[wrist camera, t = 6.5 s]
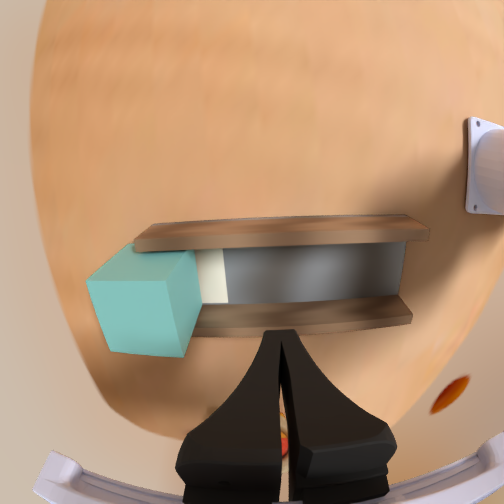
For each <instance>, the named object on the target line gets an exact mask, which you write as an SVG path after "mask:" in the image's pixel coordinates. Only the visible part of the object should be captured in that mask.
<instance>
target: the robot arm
mask: <svg viewBox="0 0 504 504" xmlns="http://www.w3.org/2000/svg"><path fill="white" fill-rule="evenodd" d="M476 122H477V124H476ZM468 141H469V157H468V182H467V196H466V206H465V208H466V211H467V212H469V213H475V214H495V215H504V127H503V126H500V125H497V124H494V123H492V122H489V121H486V120H483V119H479V118H476V117H469V118H468ZM474 205H475V208H474ZM280 385H281V388H282V395H283V401H284V408H285V414H286V421H287V432H288V470H289V502H279V495H280V486H281V475H282V442H281V426H280V408H279V398H280ZM396 449H397V444H396V441H395V438H394V435H393V433H392V432H391V430H390V428H389V426H388V424H387V423H386V422H384V421H382V420H380V419H379V418H377V417H375V416H373V415H371V414H369V413H368V412H366V411H365V410H363V409H362V408H360V407H359V406H358V405H356V404H355V403H354V402H353V401H351V400H350V399H349V398H348V397H346V396H345V395H344V394H343V393H342V392H341V391H339V390H338V389H337V388H336V387H335V386H334V385H333V384H332V383H331V382H330V381H329V380H328V378H327V377H326V376H325V375H324V374H323V373H322V371H321V370H320V369H319V368H318V366H317V365H316V364H315V362H314V361H313V359H312V358H311V357H310V355H309V354H308V352H307V351H306V349H305V347H304V346H303V344H302V342H301V340H300V338H299V336H298V334H297V331H296V330H295V329H284V330H266V331H265V332H264V333H263V338H262V341H261V344H260V347H259V350H258V352H257V354H256V356H255V358H254V360H253V362H252V364H251V366H250V368H249V369H248V371H247V373H246V375H245V376H244V378H243V379H242V381H241V382H240V384H239V385H238V386H237V388H236V389H235V390H234V392H233V393H232V394H231V395H230V396H229V397H228V399H227V400H226V401H225V402H224V403H223V404H222V405H221V406H220V407H219V408H218V409H217V410H216V411H215V412H214V413H213V414H212V415H211V416H210V417H209V418H207V419H206V420H205V421H204V422H202V423H201V424H200V425H198V426H197V427H196V428H194V429H193V430H192V431H190V432H189V433H188V434H187V436H186V438H185V439H184V441H183V443H182V446H181V448H180V451H179V454H178V458H177V461H176V466H175V469H176V472H177V473H178V475H179V476H180V477H181V479H182V480H183V481H184V483H185V484H186V485H185V491H184V495H183V496H179V495H173V494H168V493H163V492H158V491H153V490H150V489H145V488H141V487H137V486H134V485H130V484H126V483H123V482H120V481H117V480H113V479H110V478H107V477H104V476H101V475H99V474H96V473H93V472H90V471H88V470H85V469H83V468H82V466H81V465H80V464H79V463H77V462H76V461H75V460H73V459H71V458H69V457H67V456H65V455H62V454H60V453H58V452H56V451H54V450H51V452H50V454H49V456H48V458H47V460H46V462H45V464H44V466H43V468H42V470H41V472H40V474H39V476H38V478H37V480H36V482H35V485H34V487H33V489H32V490H33V492H35V493H36V494H38V495H39V496H41V497H42V498H43V499H45V500H46V501H48V502H49V503H51V504H476V503H478V502H480V501H481V500H483V499H485V498H486V497H488V496H490V495H491V494H493V493H494V492H495V491H497V490H498V489H499V488H501V487H502V486H503V485H504V431H502V432H501V433H499V434H497V435H495V436H494V437H492V438H490V439H488V440H487V441H486V442H484V443H483V444H482V445H481V446H480V447H479V448H478V450H477V451H476V452H474V453H472V454H470V455H468V456H466V457H464V458H462V459H460V460H458V461H455V462H453V463H451V464H448V465H446V466H444V467H441V468H439V469H436V470H434V471H431V472H429V473H426V474H423V475H420V476H417V477H414V478H411V479H408V480H405V481H403V482H399V483H395V484H392V485H388V480H387V476H386V475H387V474H388V468H387V463H388V461H389V460H390V459H391V457H392V456H393V455H394V453H395V451H396Z"/></svg>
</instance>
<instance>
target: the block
mask: <svg viewBox="0 0 504 504" xmlns="http://www.w3.org/2000/svg"><path fill="white" fill-rule="evenodd" d="M86 284H87V287H88V291H89V294H90V297H91V300H92V303H93V306H94V309H95V312H96V315H97V317H98V320H99V323H100V326H101V328H102V331H103V333H104V336H105V339H106V341H107V344H108V346H109V348H110V351H113V352H121V353H130V354H140V355H151V356H163V357H179V358H184V356H185V353H186V350H187V347H188V344H189V341H190V338H191V335H192V332H193V329H194V326H195V324H196V321H197V318H198V315H199V312H200V309H201V307H202V298H201V292H200V286H199V279H198V272H197V265H196V258H195V251H194V249H193V250H169V251H147V252H136V249H135V244H128V245H126V246H125V247H124V248H123V249H122V250H120V251H119V252H118V253H117V254H116V255H114V256H113V257H112V258H111V259H110V260H109V261H107V262H106V263H105V264H104V265H103V266H102V267H100V268H99V269H98V270H97V271H96V272H95V273H94V274H92V275H91V276H90V277H89V278H88V279H87V280H86Z"/></svg>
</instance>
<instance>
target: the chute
mask: <svg viewBox="0 0 504 504" xmlns="http://www.w3.org/2000/svg"><path fill="white" fill-rule="evenodd" d="M429 231H430V229H429V228H427V227H426V226H424V225H422V224H421V223H419V222H417V221H415V220H414V219H412V218H410V217H409V216H407V215H332V216H292V217H264V218H242V219H222V220H204V221H188V222H174V223H160V224H153V225H151V226H150V227H149V228H148V229H146V230H145V231H144V232H143V233H141V234H140V235H139V236H138V237H136V238H135V239H134V244H135V249H136V252H147V251H169V250H193V249H194V251H195V258H196V265H197V272H198V279H199V286H200V292H201V298H202V307H201V309H200V312H199V315H198V318H197V321H196V324H195V326H194V329H193V332H192V335H191V337H263V333H264V332H265V331H266V330H284V329H295V330H296V331H297V334H298V335H310V334H324V333H336V332H347V331H357V330H366V329H374V328H382V327H390V326H397V325H404V324H411V321H412V317H413V314H412V312H411V311H410V310H409V308H408V307H407V306H406V304H405V303H404V302H403V301H402V299H401V298H400V297H399V295H398V291H399V286H400V280H401V275H402V269H403V262H404V256H405V248H406V242H408V241H428V238H429Z"/></svg>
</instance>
